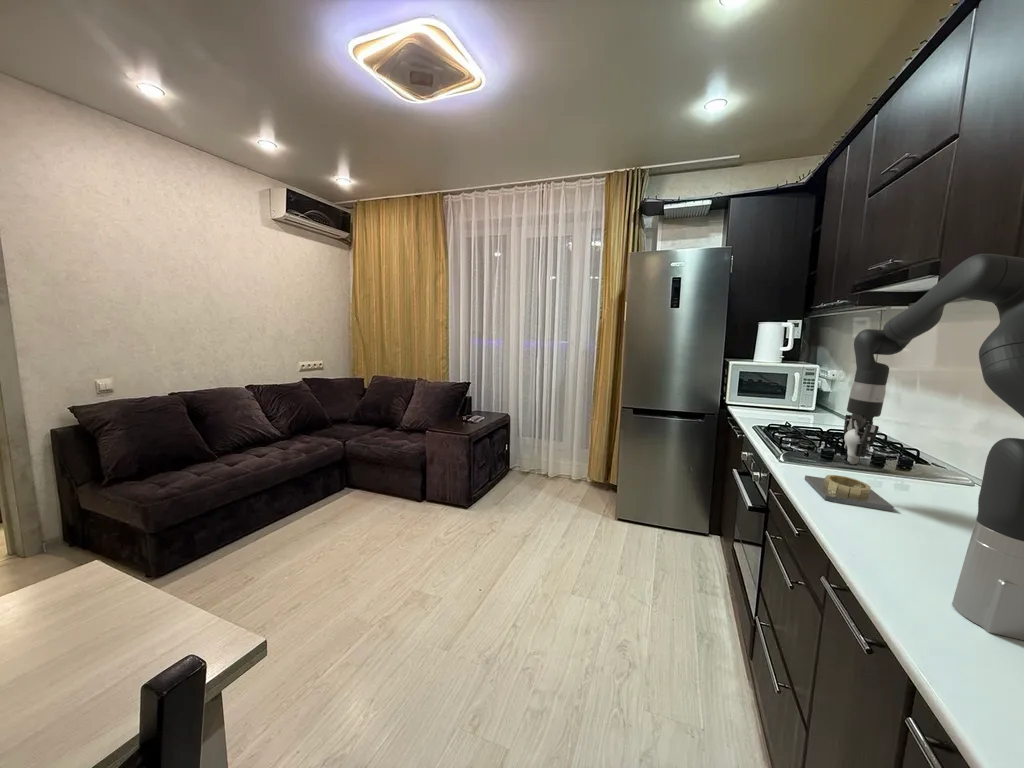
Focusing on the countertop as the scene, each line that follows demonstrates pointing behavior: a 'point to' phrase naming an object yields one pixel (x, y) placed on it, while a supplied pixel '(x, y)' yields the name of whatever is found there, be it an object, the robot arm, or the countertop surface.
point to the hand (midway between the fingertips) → (854, 452)
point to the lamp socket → (847, 492)
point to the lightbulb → (852, 446)
